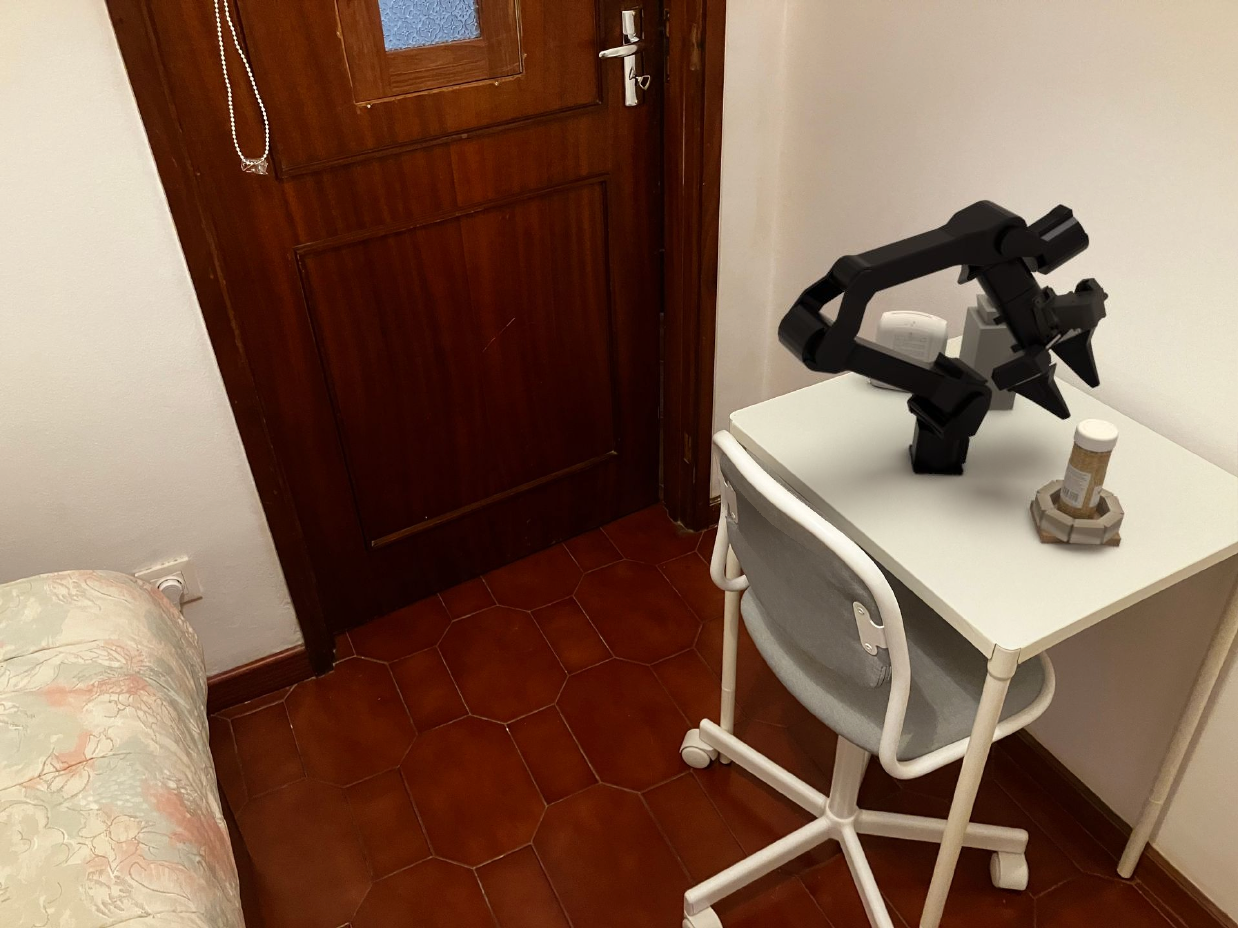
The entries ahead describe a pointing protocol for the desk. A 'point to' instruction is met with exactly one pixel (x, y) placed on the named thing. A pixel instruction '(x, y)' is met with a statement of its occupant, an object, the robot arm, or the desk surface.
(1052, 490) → the octagonal open basket
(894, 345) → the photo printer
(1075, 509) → the sprinkles bottle
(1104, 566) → the desk surface
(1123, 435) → the desk surface
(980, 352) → the perfume bottle
